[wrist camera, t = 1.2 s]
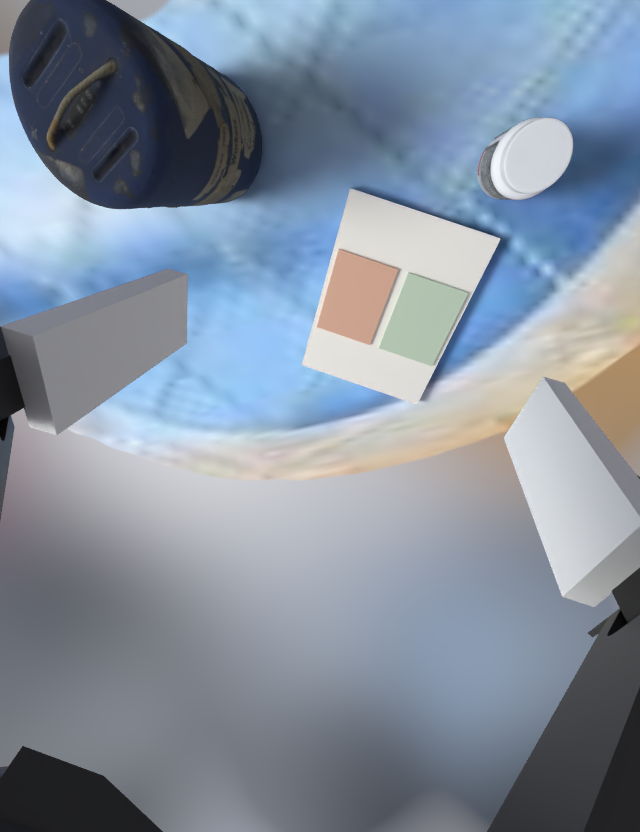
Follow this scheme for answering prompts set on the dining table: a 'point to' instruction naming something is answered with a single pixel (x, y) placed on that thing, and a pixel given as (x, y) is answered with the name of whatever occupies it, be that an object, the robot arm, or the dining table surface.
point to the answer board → (394, 295)
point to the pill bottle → (525, 159)
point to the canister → (128, 110)
